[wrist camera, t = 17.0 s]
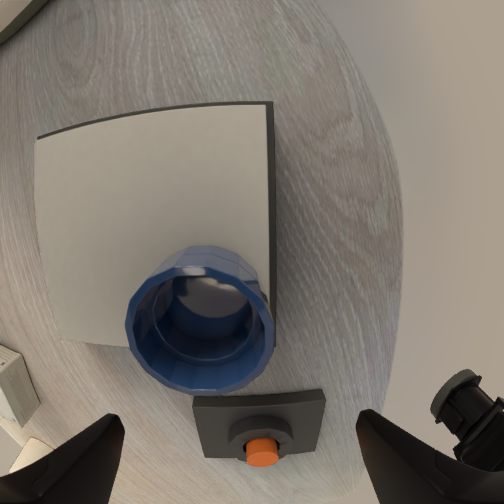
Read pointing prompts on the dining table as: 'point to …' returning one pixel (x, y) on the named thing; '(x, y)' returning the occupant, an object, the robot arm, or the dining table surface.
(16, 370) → the small box
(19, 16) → the bowl
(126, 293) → the scale
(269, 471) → the dining table surface
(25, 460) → the pill bottle
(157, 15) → the dining table surface
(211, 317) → the small dish
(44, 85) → the dining table surface
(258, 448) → the button
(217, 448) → the pad
